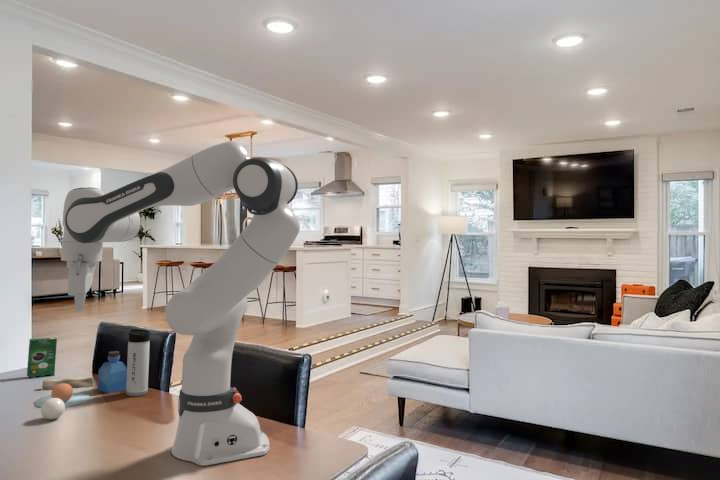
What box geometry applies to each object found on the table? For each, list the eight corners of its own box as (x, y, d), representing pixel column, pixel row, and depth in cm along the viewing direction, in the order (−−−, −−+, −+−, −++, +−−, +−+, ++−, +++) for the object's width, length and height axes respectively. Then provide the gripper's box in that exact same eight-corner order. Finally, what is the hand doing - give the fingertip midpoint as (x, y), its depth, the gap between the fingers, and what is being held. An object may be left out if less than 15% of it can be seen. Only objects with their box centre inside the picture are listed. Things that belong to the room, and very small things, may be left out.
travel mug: (140, 389, 162) (142, 327, 162) (151, 393, 158) (154, 330, 158) (121, 393, 157) (124, 329, 157) (132, 397, 153) (135, 332, 153)
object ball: (73, 383, 146) (72, 403, 145) (73, 381, 150) (72, 399, 150) (51, 385, 143) (50, 405, 142) (52, 382, 147) (50, 402, 147)
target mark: (93, 392, 157) (93, 391, 157) (84, 406, 143) (84, 405, 143) (42, 394, 152) (42, 393, 152) (28, 409, 139) (28, 408, 139)
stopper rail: (92, 384, 164) (93, 377, 164) (92, 386, 163) (92, 378, 163) (43, 388, 158) (43, 380, 158) (42, 389, 157) (42, 381, 157)
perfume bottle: (127, 389, 161) (128, 352, 161) (108, 393, 156) (110, 355, 156) (115, 385, 165) (117, 349, 165) (97, 389, 160) (99, 352, 160)
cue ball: (65, 402, 132) (66, 420, 133) (63, 392, 136) (64, 409, 137) (41, 407, 129) (42, 426, 130) (39, 396, 133) (40, 414, 134)
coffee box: (54, 373, 175) (55, 336, 175) (55, 375, 173) (57, 337, 173) (26, 376, 170) (28, 338, 170) (27, 378, 168) (29, 340, 168)
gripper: (93, 256, 114) (91, 316, 114) (99, 252, 132) (96, 304, 132) (61, 255, 111) (59, 317, 111) (71, 252, 130) (69, 305, 130)
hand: (79, 310), depth 122 cm, fingers closed
